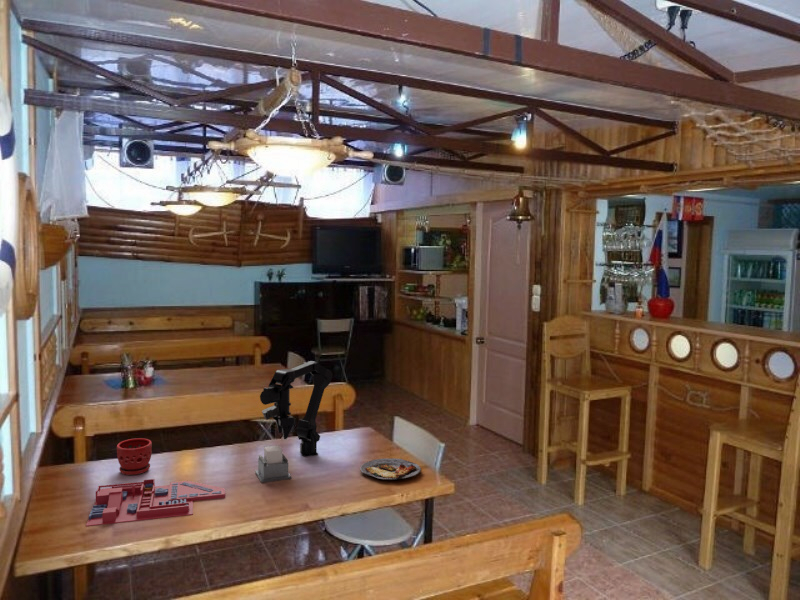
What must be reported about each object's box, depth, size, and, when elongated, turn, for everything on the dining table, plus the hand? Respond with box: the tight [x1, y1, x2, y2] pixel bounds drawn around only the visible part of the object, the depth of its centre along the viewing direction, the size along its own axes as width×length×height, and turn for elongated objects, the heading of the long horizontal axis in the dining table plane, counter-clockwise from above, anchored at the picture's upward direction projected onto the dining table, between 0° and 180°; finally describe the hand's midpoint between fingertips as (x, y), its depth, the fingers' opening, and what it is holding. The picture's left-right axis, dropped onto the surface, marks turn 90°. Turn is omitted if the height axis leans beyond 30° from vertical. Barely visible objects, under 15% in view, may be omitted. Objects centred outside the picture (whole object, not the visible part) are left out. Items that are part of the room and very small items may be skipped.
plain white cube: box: [263, 445, 283, 464], centre depth 248 cm, size 6×6×5 cm
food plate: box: [359, 457, 422, 481], centre depth 255 cm, size 25×23×4 cm
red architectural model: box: [85, 478, 226, 527], centre depth 222 cm, size 30×45×6 cm
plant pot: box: [116, 437, 153, 476], centre depth 250 cm, size 13×13×12 cm
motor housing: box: [254, 452, 292, 484], centre depth 250 cm, size 12×14×8 cm
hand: (282, 435), depth 263 cm, fingers open, 9 cm apart
